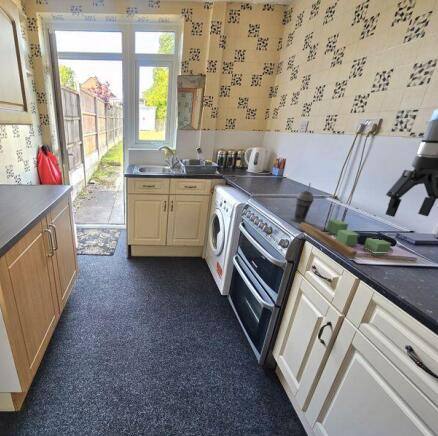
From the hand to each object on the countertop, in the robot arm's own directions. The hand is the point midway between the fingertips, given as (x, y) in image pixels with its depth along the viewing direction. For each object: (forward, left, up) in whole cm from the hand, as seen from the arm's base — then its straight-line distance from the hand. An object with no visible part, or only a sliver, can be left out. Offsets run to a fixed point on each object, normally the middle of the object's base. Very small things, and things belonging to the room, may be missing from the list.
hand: (406, 215), depth 90 cm
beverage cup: (+15, -33, -15) cm, 39 cm away
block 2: (+7, 0, -15) cm, 17 cm away
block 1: (+7, -19, -15) cm, 25 cm away
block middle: (+12, -8, -15) cm, 21 cm away
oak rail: (+20, -10, -15) cm, 27 cm away
